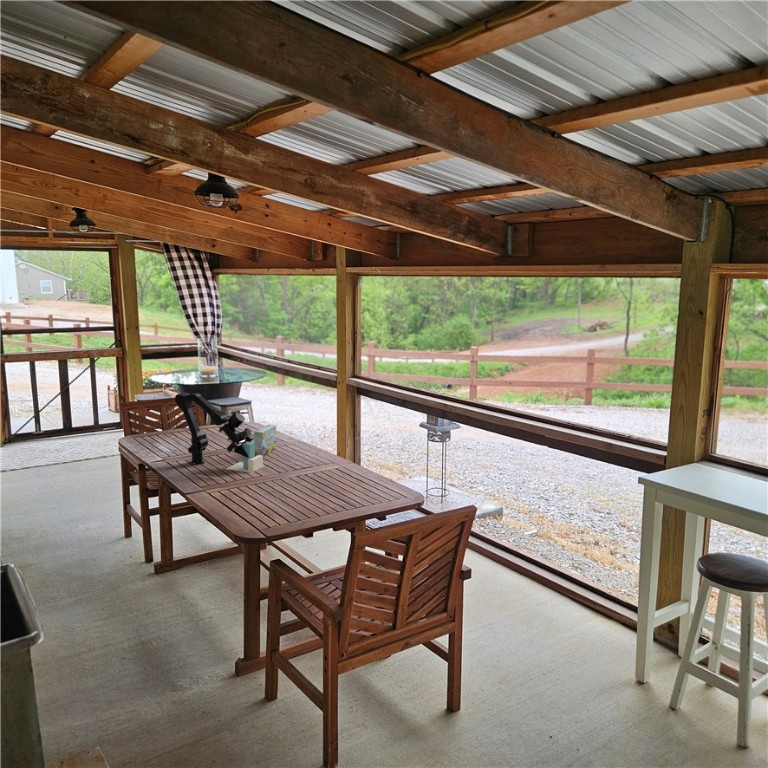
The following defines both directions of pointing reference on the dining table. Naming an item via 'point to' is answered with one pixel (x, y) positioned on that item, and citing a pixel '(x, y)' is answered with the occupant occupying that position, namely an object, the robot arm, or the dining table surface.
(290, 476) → the dining table surface
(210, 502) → the dining table surface
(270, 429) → the snack box
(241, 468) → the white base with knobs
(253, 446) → the tall teal pillar
